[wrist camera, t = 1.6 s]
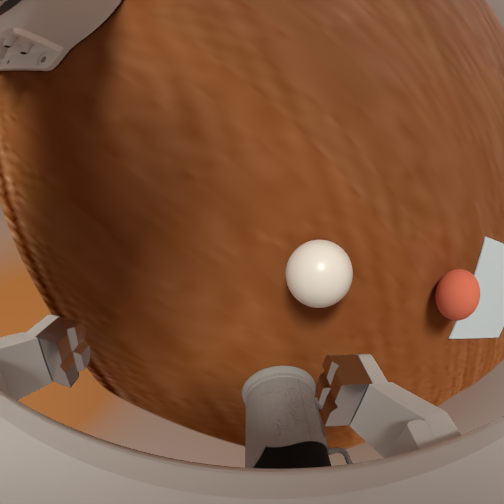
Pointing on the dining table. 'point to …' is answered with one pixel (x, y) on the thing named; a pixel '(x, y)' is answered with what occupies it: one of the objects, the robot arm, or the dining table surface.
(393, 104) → the dining table surface
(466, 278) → the red ball
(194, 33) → the dining table surface
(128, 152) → the dining table surface
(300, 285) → the cue ball
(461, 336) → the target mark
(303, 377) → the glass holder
